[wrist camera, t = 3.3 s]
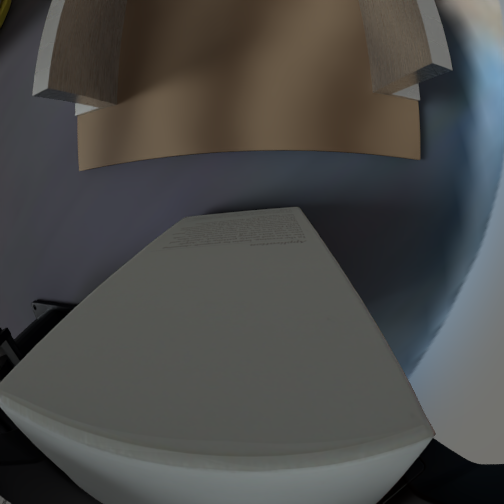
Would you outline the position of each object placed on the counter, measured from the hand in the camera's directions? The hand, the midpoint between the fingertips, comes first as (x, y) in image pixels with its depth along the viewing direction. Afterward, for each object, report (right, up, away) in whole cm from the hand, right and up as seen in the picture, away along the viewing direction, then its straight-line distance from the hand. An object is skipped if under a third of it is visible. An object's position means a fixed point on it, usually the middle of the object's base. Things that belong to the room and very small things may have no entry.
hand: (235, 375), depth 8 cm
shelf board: (0, +17, +3) cm, 18 cm away
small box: (0, +3, +7) cm, 8 cm away
